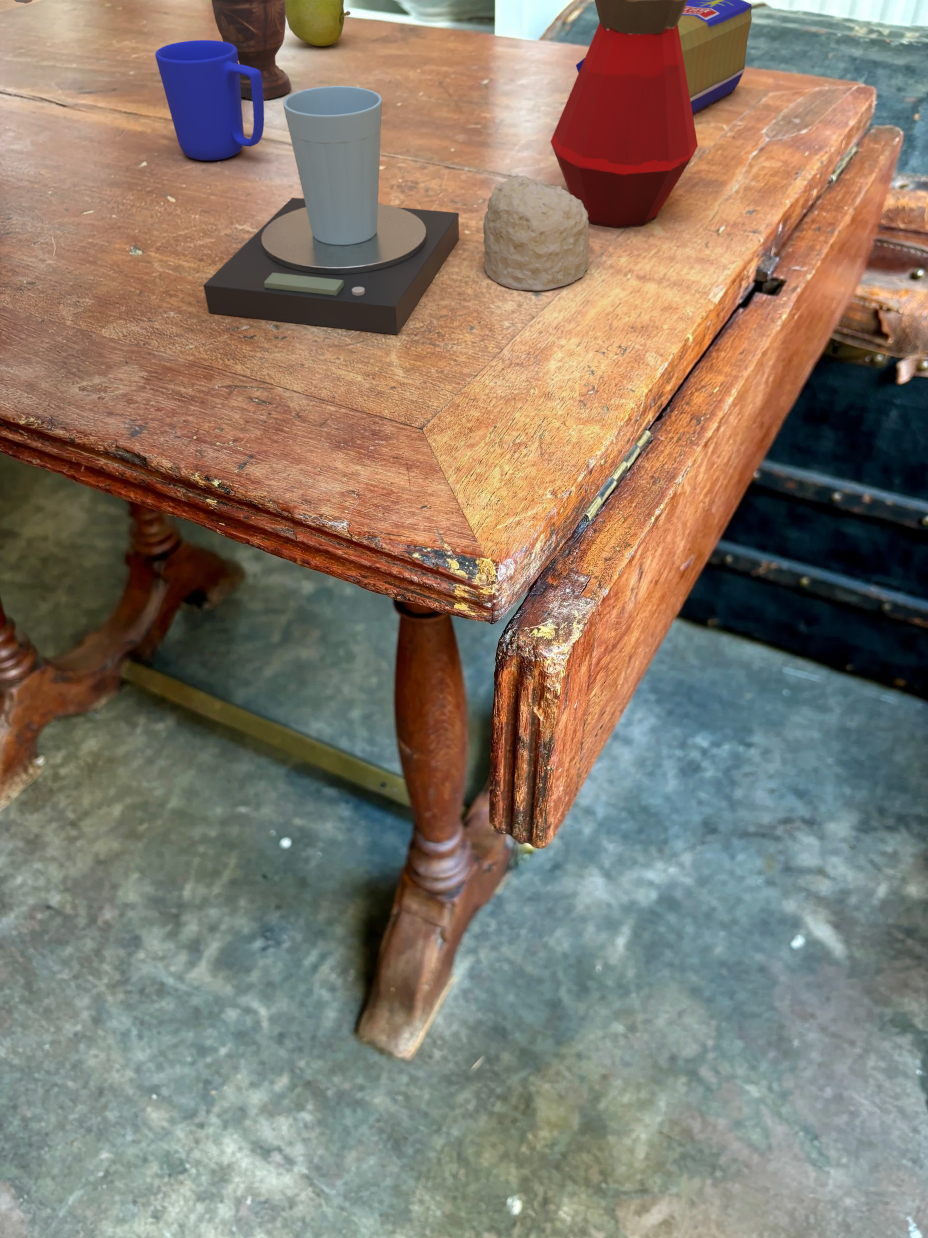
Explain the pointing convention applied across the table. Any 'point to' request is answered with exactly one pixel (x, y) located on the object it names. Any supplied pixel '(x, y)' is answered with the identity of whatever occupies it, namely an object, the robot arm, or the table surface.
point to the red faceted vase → (628, 115)
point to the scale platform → (303, 252)
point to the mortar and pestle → (255, 40)
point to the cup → (337, 159)
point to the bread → (712, 47)
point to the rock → (535, 235)
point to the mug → (209, 97)
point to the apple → (316, 20)
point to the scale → (331, 283)
